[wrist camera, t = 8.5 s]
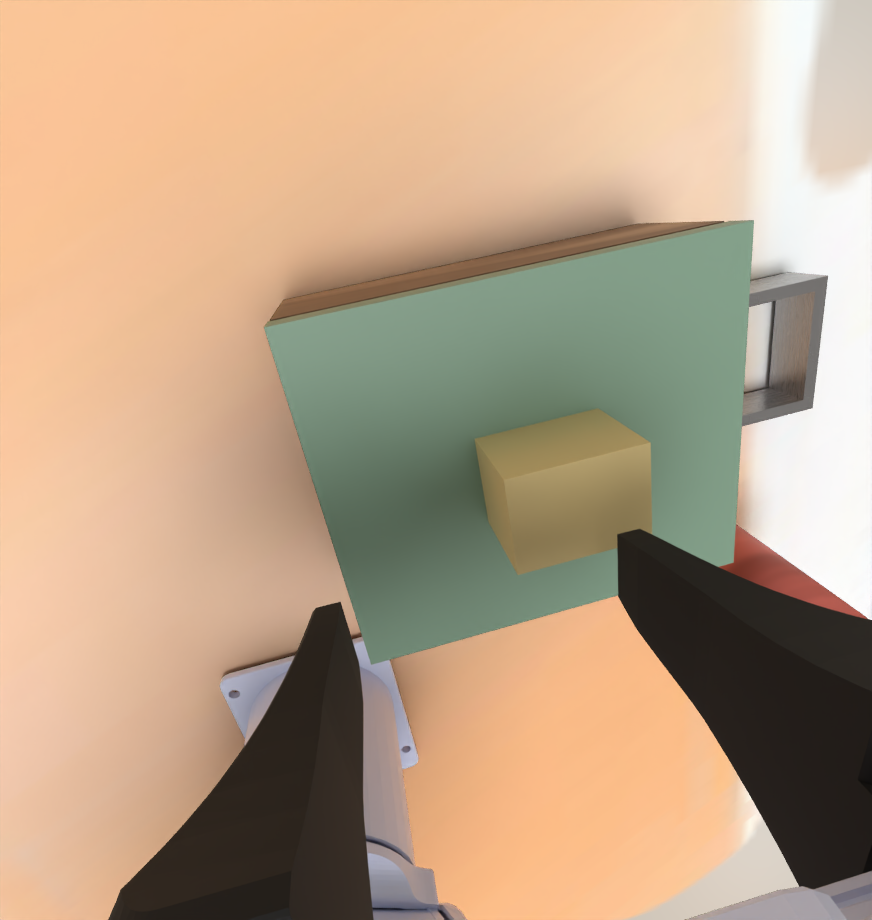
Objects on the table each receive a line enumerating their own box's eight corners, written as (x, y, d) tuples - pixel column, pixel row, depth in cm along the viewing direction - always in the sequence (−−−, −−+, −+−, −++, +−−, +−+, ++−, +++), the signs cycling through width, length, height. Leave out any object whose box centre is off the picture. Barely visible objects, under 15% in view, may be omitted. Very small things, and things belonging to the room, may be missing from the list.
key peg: (729, 561, 29) (865, 671, 22) (667, 578, 28) (784, 696, 21) (733, 503, 27) (879, 601, 20) (667, 521, 27) (792, 627, 20)
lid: (716, 548, 21) (796, 613, 17) (369, 645, 20) (378, 737, 16) (729, 220, 16) (846, 217, 12) (267, 321, 15) (248, 350, 11)
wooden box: (644, 489, 26) (711, 544, 21) (361, 564, 25) (369, 639, 20) (638, 223, 21) (723, 221, 16) (283, 299, 20) (269, 319, 15)
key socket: (777, 395, 25) (812, 408, 23) (667, 423, 25) (694, 438, 23) (788, 272, 23) (828, 275, 21) (667, 300, 22) (697, 306, 21)
